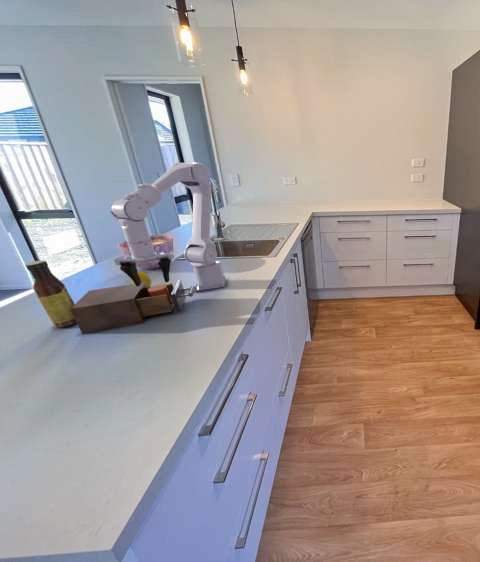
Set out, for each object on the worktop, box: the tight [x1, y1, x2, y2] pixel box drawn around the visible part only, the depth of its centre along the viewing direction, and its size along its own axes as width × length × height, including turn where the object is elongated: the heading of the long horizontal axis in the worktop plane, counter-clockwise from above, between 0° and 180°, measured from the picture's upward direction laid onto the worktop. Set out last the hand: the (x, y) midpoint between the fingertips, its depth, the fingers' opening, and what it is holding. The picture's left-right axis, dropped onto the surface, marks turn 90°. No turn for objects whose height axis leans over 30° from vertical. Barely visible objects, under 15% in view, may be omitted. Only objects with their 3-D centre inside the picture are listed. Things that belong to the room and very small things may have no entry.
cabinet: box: [70, 282, 147, 335], centre depth 92 cm, size 15×13×8 cm
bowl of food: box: [117, 234, 174, 270], centre depth 133 cm, size 20×20×12 cm
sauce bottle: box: [25, 259, 77, 329], centre depth 87 cm, size 6×6×20 cm
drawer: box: [136, 279, 196, 317], centre depth 97 cm, size 18×12×6 cm, turn 113°
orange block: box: [148, 283, 172, 304], centre depth 96 cm, size 5×5×6 cm
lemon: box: [130, 270, 152, 287], centre depth 110 cm, size 6×6×8 cm
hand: (153, 283), depth 94 cm, fingers open, 7 cm apart
